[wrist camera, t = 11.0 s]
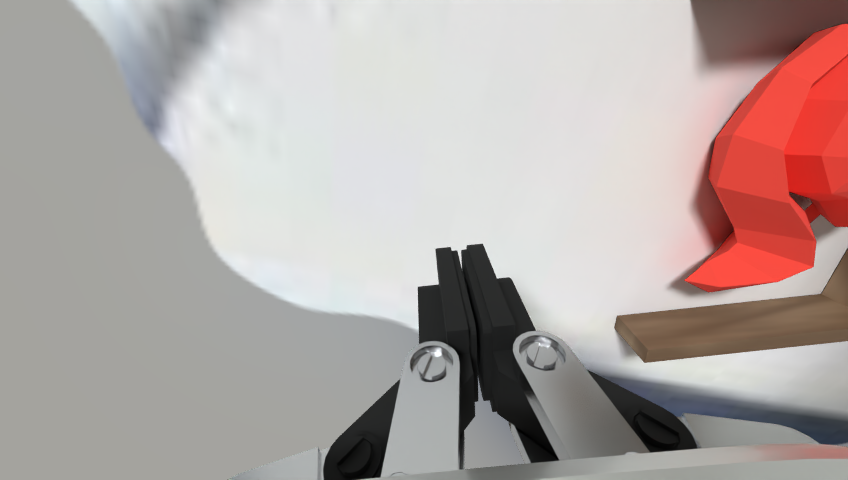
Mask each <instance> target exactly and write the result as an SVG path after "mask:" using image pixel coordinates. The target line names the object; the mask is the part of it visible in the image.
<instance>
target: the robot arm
mask: <svg viewBox="0 0 848 480" xmlns="http://www.w3.org/2000/svg"><path fill="white" fill-rule="evenodd" d="M461 255H462V268H461V264H460V260H459V256H458V252H457V251H451V247H447V248H437V249H436V259H437V269H438V280H439V285H431V286H421V287H418V314H419V345H417V346H416V347H414V348H413V349H411V351H410V352H409V353H408V354H407V356H406V359H405V361H404V365H403V370H402V375H401V379H400V380H399V381H398V382H397V383H395V385H393V386H392V387H391V388H390V389H389V390H388V391H387V392H386V393H385V394H384V395H383V396H382V397H381V398H380V399H379V400H377V401H376V402H375V403H374V404H373V405H372V406H371V407H370V408H369V409H368V410H367V411H366V412H365V413H364V414H363V415H362V416H361V417H360V418H359V419H357V420H356V422H354V423H353V424H352V425H351V426H350V427H349V428H348V429H347V430H346V431H345V432H344V433H343V434H342V435H340V436H339V437H338V439H337V440H336V441H335V442H334V443H333V445H332V446H331V447H330V448H327V449H324V450H321V451H320V450H319V448H318V447H316V448H313V449H311V450H307V451H305V452H302V453H299V454H296V455H293V456H290V457H287V458H284V459H281V460H278V461H275V462H272V463H269V464H266V465H263V466H260V467H257V468H254V469H251V470H248V471H246V472H243V473H240V474H237V475H235V476H233V477H232V478H230V479H228V480H848V447H843V446H837V445H823V444H819V443H818V442H816V441H815V440H813V439H812V438H810V437H809V436H807V435H805V434H803V433H801V432H799V431H797V430H794V429H792V428H789V427H785V426H781V425H777V424H769V423H761V422H753V421H745V420H737V419H729V418H720V417H712V416H704V415H696V414H688V413H683V414H682V416H681V417H676V416H675V415H673V414H672V413H670V412H669V411H667V410H665V409H664V408H662V407H660V406H658V405H656V404H654V403H652V402H650V401H648V400H646V399H644V398H642V397H640V396H638V395H636V394H634V393H632V392H630V391H628V390H626V389H624V388H622V387H620V386H618V385H616V384H614V383H612V382H610V381H608V380H606V379H604V378H602V377H600V376H598V375H596V374H594V373H592V372H590V371H588V370H586V368H585V367H584V366H583V365H582V363H581V362H580V361H579V359H578V358H577V357H576V355H575V354H574V353H573V352H572V350H571V349H570V348H569V346H568V345H567V344H566V343H565V342H564V341H563V340H562V339H560V338H558V337H557V336H555V335H553V334H550V333H547V332H542V331H536V330H535V328H534V326H533V323H532V321H531V319H530V317H529V315H528V313H527V311H526V309H525V307H524V304H523V302H522V300H521V298H520V296H519V294H518V292H517V290H516V288H515V285H514V283H513V281H512V280H511V278H499V279H497V278H496V275H495V273H494V270H493V268H492V265H491V263H490V261H489V258H488V256H487V253H486V251H485V248H484V246H483V244H476V245H467V249H466V250H462V251H461ZM478 378H479V383H480V388H481V392H482V397H483V400H484V401H486V400H490V403H491V407H492V411H493V412H496V411H497V413H498V414H499V415H500V416H501V417H503V418H504V419H506V420H507V421H509V426H510V430H511V433H512V435H513V437H514V440H515V442H516V444H517V447H518V449H519V451H520V454H521V456H522V458H523V461H524V463H525V464H518V465H507V466H496V467H485V468H474V469H464V430H465V429H466V427H467V426H468V425H469V423H470V422H471V421H472V419H473V418H474V417H475V402H477V401H478Z"/></svg>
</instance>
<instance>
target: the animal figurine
mask: <svg viewBox="0 0 848 480" xmlns="http://www.w3.org/2000/svg"><path fill="white" fill-rule="evenodd" d="M708 178H709V180H710V182H711V184H712V186H713V188H714V190H715V192H716V194H717V196H718V198H719V200H720V202H721V204H722V206H723V208H724V210H725V212H726V213H727V215H728V217H729V219H730V221H731V223H732V225H733V227H734V231H733V232H732V233H731V234H730V235H729V236H728V237H727V239H726V240H725V241H724V242H723V244H722V245H721V246H720V247H719V249H718V250H717V251H716V252H715V253H714V254H713V255H712V256H711V257H710V258H709V259H707V260H706V261H705V262H704V263H703V264H702V265H701V266H700V267H699V268H698V269H697V270H696V271H695V272H694V273H693V274H691V275H690V276H689V277H688V278H686V279H685V280H684V281H686V282H688V283H690V284H692V285H694V286H696V287H698V288H700V289H703V290H705V291H707V292H715V291H721V290H728V289H734V288H741V287H747V286H754V285H760V284H767V283H773V282H779V281H781V280H783V279H786V278H788V277H791V276H793V275H795V274H798V273H800V272H802V271H805V270H807V269H810V268H812V267H814V258H815V249H816V239H815V237H814V234H813V231H812V229H811V226H810V223H811V222H812V221H813V220H814V219H816V218H817V217H818V216H819V215H820V214H821V215H822V216H824V217H825V218H826V219H827V220H828V221H829V222H830V223H831V224H833V225H834V226H835V227H848V24H841V25H837V26H834V27H831V28H828V29H824V30H821V31H818V32H815V33H813V34H812V35H811V36H810V37H809V38H808V39H806V40H805V41H804V42H803V43H802V44H801V45H800V46H799V47H797V48H796V49H795V50H794V51H793V52H792V53H791V54H790V55H788V56H787V57H786V58H785V59H784V60H783V61H782V62H781V63H779V64H778V65H777V66H776V67H775V68H774V69H773V70H772V71H770V72H769V73H768V74H767V75H766V76H765V77H764V78H763V79H761V80H760V81H759V82H758V83H757V84H756V86H755V87H754V88H753V90H752V91H751V92H750V94H749V95H748V96H747V97H746V99H745V100H744V101H743V103H742V104H741V105H740V107H739V108H738V109H737V111H736V112H735V113H734V115H733V116H732V117H731V119H730V120H729V121H728V122H727V124H726V125H725V126H724V128H723V129H722V130H721V132H720V133H719V134H718V136H717V137H716V140H715V144H714V149H713V154H712V158H711V163H710V169H709V175H708ZM789 192H791V193H794V194H798V195H801V196H804V197H807V198H810V200H811V201H812V204H811V205H810V206H809V207H808V208H807V209H806V210H805V211H804V210H803V209H802V208H801V207H800V206H799V205H798V204H797V203H796V202H795V201H794V200H793V199H792V198H791V197H790V196H789Z"/></svg>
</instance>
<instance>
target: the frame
mask: <svg viewBox="0 0 848 480" xmlns="http://www.w3.org/2000/svg"><path fill="white" fill-rule="evenodd" d="M615 329H616V330H617V331H618V332H619V334H620V335H621V336H622V337H623V338H624V339H625V341H626V342H627V343H628V344H629V345H630V346H631V348H632V349H633V350H634V351H635V352H636V353H637V355H638V356H639V357H640V358H641V359H642V360H643V361H644V363H647V362H656V361H665V360H675V359H684V358H693V357H703V356H712V355H721V354H731V353H740V352H749V351H759V350H768V349H777V348H786V347H796V346H805V345H814V344H824V343H833V342H842V341H848V249H847V251H846V253H845V254H844V256H843V258H842V260H841V261H840V263H839V265H838V266H837V268H836V270H835V272H834V273H833V275H832V277H831V278H830V280H829V282H828V284H827V285H826V287H825V289H824V290H823V292H822V294H817V295H808V296H798V297H789V298H780V299H770V300H761V301H752V302H743V303H733V304H724V305H715V306H705V307H696V308H687V309H677V310H668V311H659V312H649V313H640V314H631V315H622V316H617V319H616V323H615Z"/></svg>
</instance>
